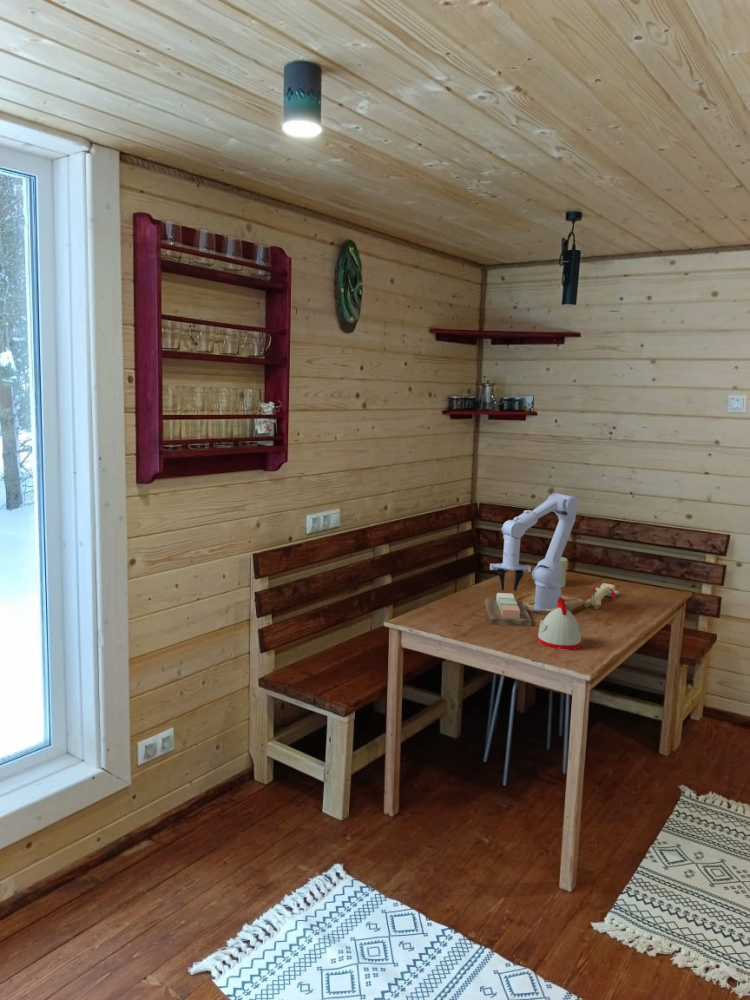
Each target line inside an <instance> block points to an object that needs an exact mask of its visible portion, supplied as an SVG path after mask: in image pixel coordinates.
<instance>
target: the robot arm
mask: <svg viewBox="0 0 750 1000" xmlns="http://www.w3.org/2000/svg"><path fill="white" fill-rule="evenodd" d="M579 508H580V503H579V500H578V498H577V497H576V496H573V495H568V494H564V493H560V492H554V493H551V495H548V496H547V499H546V500H545V501H544V502H542V503H541V504H539V505H538V506H536V507H535V508H534V509H533V510H530V509H527V510H524V511H523V512H522V513H521V514H520V515H518V516H515V517H513V519H508V520H506V521H505V522H503V524H502V527H501V528H500V529H501V532H502V534H503V540H504V541H503V552H502V553H503V554H502V562H501V563H490V564H489V570H490V571H497V573H498V577H499V580H500V581H499V582H500V585H501V591H505V576H506V573H505V571H509V572H510V571H514V581H513V582H514V583H513V591H514V592H516V591H517V589H518V586H519V583H520V581H521V579H522V578H523V576H524V572H528V573H531V571H532V573H531V577H532V580H533V581H534V584H535V590H534V603H535V604H534V606H535V607H536V608H535V607H534V608H533V610H534V611H537V612H542V611H541V610H542V609H544V610H545V609H552V608H558V606H557V599H559V597H562V588H561V587H559V586H558V584H559V583H560V580H561V573H562V569H561V567H560V565H559V562H560V559H561V557H563V553H564V551H565V548H566V546H567V543H568V540H569V539H570V535H571V533H572V529H573V526H574V524H575V522H576V516H577V514H578V512H579V511H578V510H579ZM551 512H554V513H555V514H556V516H557V518H558V523H557V525H556V528H555V531H554V533H553V536H552V539H551V542H550V544H549V547H548V549H547V551H546V554H545V557H544V558H543V559H541V560H539V561H538V562H537V565H536V566H535V567H534V569H533V570H532V567H531V565H526V564H520V551H521V549H520V548H521V538H522V537H523V536H524V535H525V532H526V531H527V530H529V529H530V528H532V527H533V526H534V525H537V523H538V519H540V518H541V517H543V516H545V515H547V514H549V513H551ZM547 568H551V569H552V570H550V569H547Z"/></svg>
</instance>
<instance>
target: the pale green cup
mask: <svg viewBox="0 0 750 1000" xmlns="http://www.w3.org/2000/svg"><path fill="white" fill-rule="evenodd" d="M567 564H568V558H567V557H564V556H561V559H560V562H559V565H560V567H561V569H562V573H561V580H560V583H559V584H558V586H559V587H561V589H562V588H565V587H566V580H567V579H566V578H567V566H568V565H567ZM547 569H550V570H552V569H551V568H547Z"/></svg>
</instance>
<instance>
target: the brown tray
mask: <svg viewBox="0 0 750 1000" xmlns="http://www.w3.org/2000/svg"><path fill="white" fill-rule="evenodd" d="M515 600H516V599H515ZM516 602H517V606H518V607H519V609H520V618H519V619H509V618H502V617H501V614H500V613H501V612H500V611H499V608H498V605H497V602H496V598H485V600H484V605H485V607H486V611H487V615H488V618H489V623H490V624H491V625H500V626H501V625H503V626H516V627H517V626H520V627H532V619H531V617H530V614H529V612H528V611H527V608H526V605H525V604H524V601H523V600H516Z"/></svg>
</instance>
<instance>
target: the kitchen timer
mask: <svg viewBox="0 0 750 1000" xmlns="http://www.w3.org/2000/svg"><path fill="white" fill-rule="evenodd" d="M565 600H566V599H564V598H563V597H562V596H561V597H559V599H557V606H558V608H556V609H554V610H552V611H549V613H547V614H546V616H545V617H544V619H543V620H542V619H541V620H540V623H539V628H538V633H537V642H538V643H539V644H540V643H541V644H543V645H544V647H546V646H547V648H549V647H551V648H550V649H552V648H556V649H555V650H558V649H574V648H577V649H579V648H580V647H581V646H582V633H581V632H582V630H581V625H579V622H578V620H577V619H576V618H575V616H574V614H573V613H572V612H571V611H570V610H568V609H567V608H566V606H567V604H566V602H565ZM541 644H540V645H541ZM543 645H542V646H543ZM580 645H581V646H580ZM578 647H579V648H578ZM574 650H575V649H574Z"/></svg>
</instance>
